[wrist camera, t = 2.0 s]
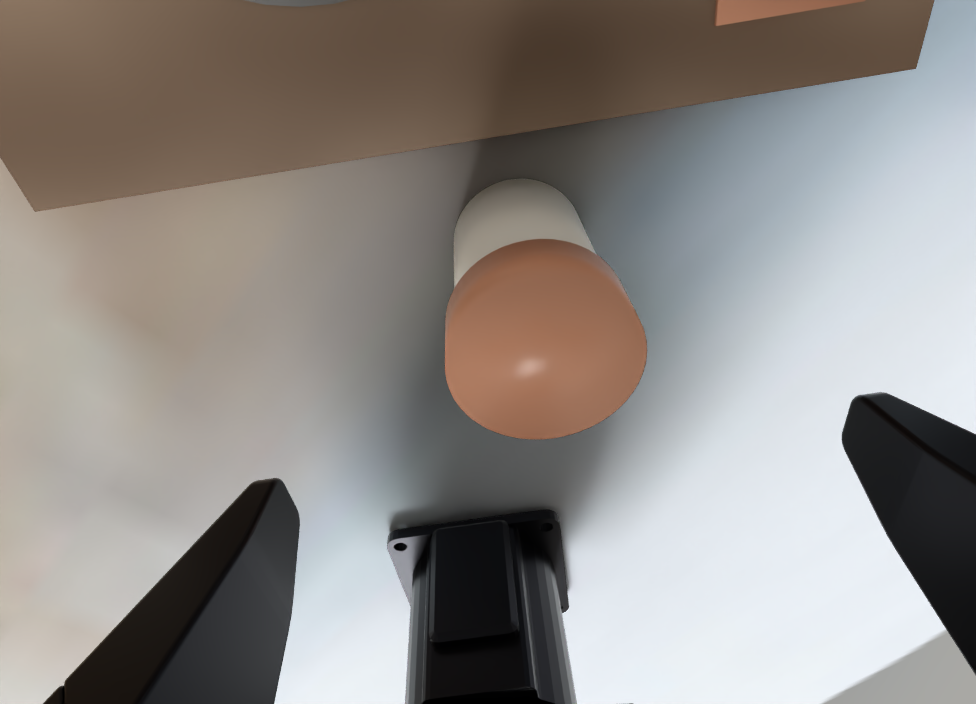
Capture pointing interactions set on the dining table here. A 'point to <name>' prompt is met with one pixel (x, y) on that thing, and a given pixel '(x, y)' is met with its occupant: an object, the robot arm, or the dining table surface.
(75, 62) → the colouring board
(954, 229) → the dining table surface
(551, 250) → the mushroom
